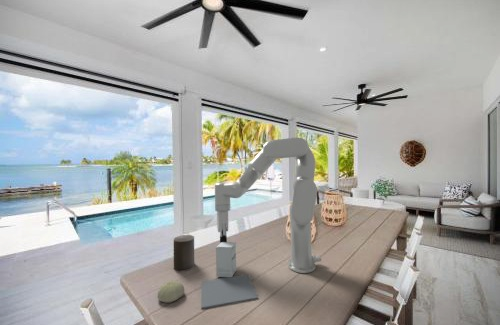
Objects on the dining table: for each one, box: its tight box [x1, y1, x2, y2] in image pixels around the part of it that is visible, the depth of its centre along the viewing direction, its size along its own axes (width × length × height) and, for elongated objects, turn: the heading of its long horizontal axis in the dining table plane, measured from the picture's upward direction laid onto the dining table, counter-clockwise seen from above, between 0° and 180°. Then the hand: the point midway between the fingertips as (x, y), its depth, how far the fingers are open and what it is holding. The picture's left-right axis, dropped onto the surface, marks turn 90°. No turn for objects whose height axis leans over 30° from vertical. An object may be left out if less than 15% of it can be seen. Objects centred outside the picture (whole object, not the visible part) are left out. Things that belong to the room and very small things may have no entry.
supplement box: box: [215, 241, 237, 278], centre depth 93 cm, size 7×7×13 cm
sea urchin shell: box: [157, 280, 185, 304], centre depth 78 cm, size 9×8×8 cm
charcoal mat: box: [200, 274, 259, 310], centre depth 80 cm, size 20×16×1 cm
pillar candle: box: [173, 234, 195, 272], centre depth 101 cm, size 10×10×15 cm
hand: (223, 243), depth 103 cm, fingers closed
